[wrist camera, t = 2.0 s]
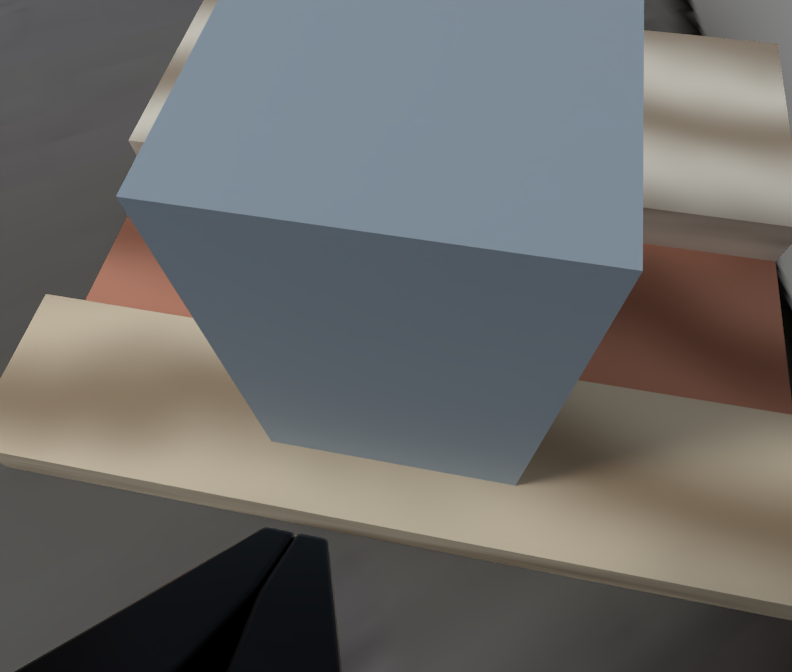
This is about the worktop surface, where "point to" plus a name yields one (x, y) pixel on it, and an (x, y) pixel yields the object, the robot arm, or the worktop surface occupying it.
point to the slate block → (403, 215)
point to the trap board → (573, 426)
